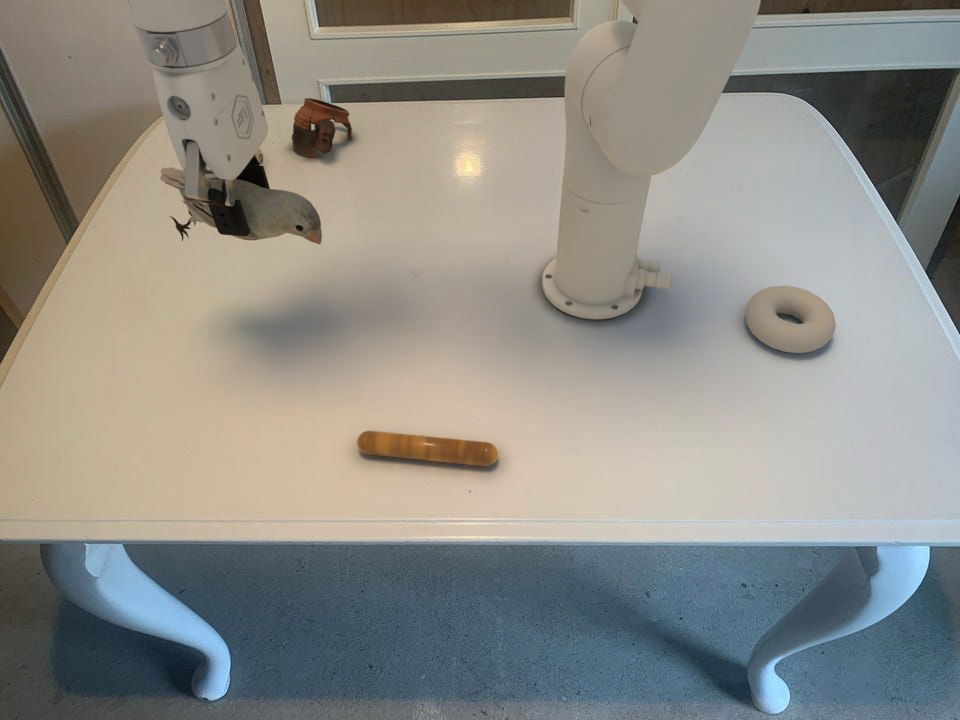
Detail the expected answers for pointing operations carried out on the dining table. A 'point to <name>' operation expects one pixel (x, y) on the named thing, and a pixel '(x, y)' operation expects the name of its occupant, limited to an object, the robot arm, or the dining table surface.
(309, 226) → the decorative bird
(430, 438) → the polished stone stick
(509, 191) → the dining table surface
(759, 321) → the donut
